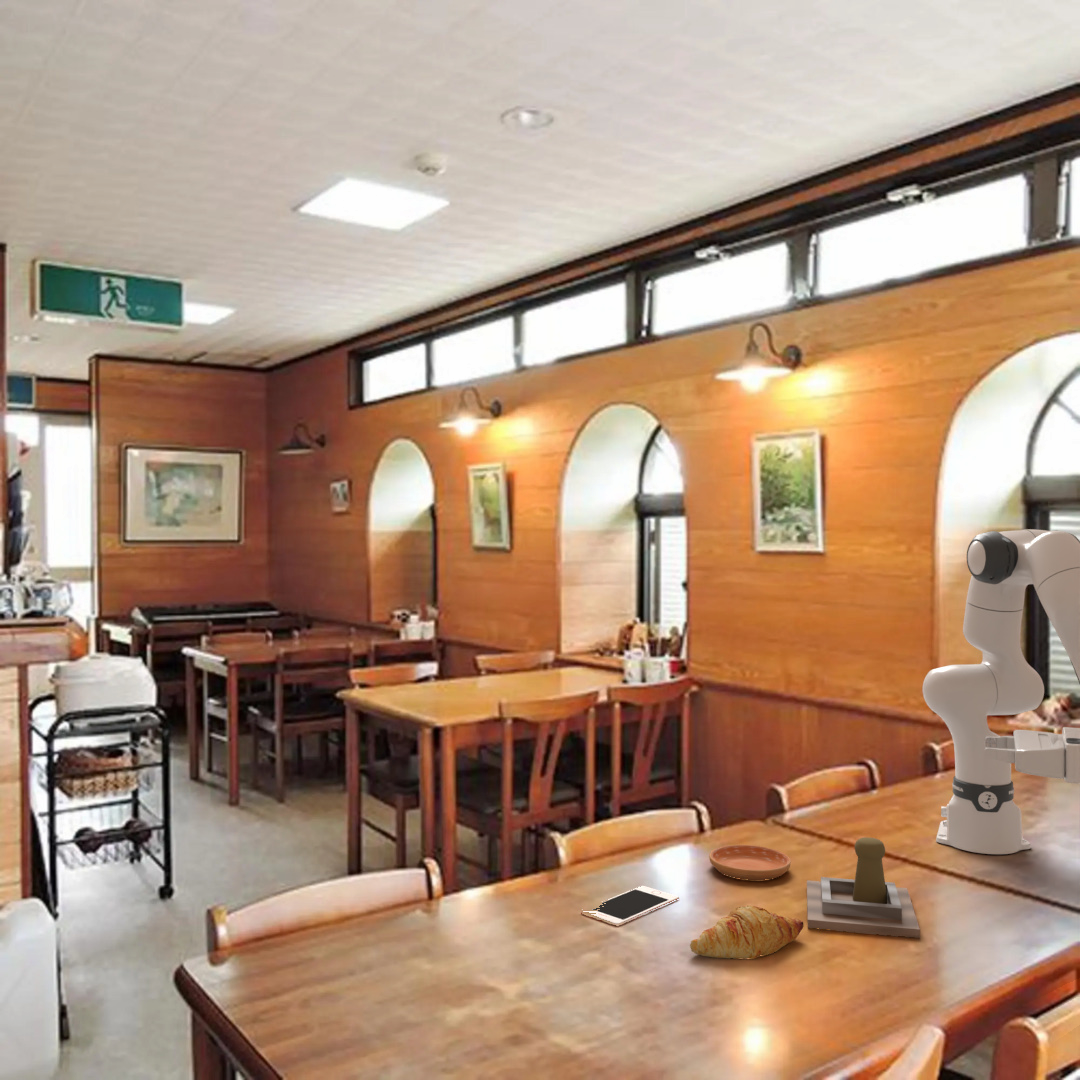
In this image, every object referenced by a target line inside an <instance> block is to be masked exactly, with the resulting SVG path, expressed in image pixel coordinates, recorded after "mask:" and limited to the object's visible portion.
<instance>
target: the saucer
mask: <svg viewBox="0 0 1080 1080" xmlns="http://www.w3.org/2000/svg"><path fill="white" fill-rule="evenodd" d="M708 858H709V862H710V863H711V865H712V866H713V867H714V868H715V870H717V871H718V872H719V873H720V872H721V873H722V874H721V873H720V874H721V875H723V874H725V875H728V876H731V877H735V878H740V879H748V880H765V879H772V878H776V877H778V878H780V877H781V876H783V875H784V874H785V873H786V872H787V871H789V869H790V868H791V862H792V861H791V858H790V857H789V856H788V855H787V854H786V853H784V852H781V851H779V850H776V849H773V848H770V847H765V846H760V845H753V844H752V845H748V844H732V845H726V846H720V847H717V848H714V849H713V850H711V851H710V853H709V857H708ZM725 875H724V876H725ZM779 876H780V877H779ZM776 879H777V878H776ZM772 880H773V879H772Z"/></svg>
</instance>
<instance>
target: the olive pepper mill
mask: <svg viewBox="0 0 1080 1080" xmlns="http://www.w3.org/2000/svg"><path fill="white" fill-rule="evenodd" d="M854 852H855V855H856V856H857V861H856V869H855V870H856V871H855V876H854V880H855V883H854V890H853V900H854V901H855V902H866V903H879V904H887V903H888V900H887V893H886V886H885V882H886V880H885V873H884V866H883V858H884V857H885V854H886V847H885V844H884V842H883V841H882V840H880V839H878V838H875V837H860V838H858V839H857V840H856V842H855V843H854Z"/></svg>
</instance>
